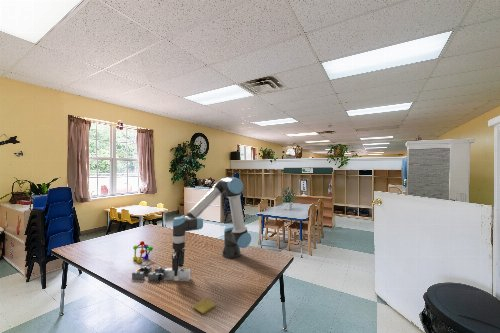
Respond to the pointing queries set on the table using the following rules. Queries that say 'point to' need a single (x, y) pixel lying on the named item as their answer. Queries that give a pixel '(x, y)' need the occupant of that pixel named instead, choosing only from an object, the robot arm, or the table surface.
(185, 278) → the link bar
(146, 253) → the educational toy
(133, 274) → the dark grey blocks
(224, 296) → the table surface
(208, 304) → the yellow tray
